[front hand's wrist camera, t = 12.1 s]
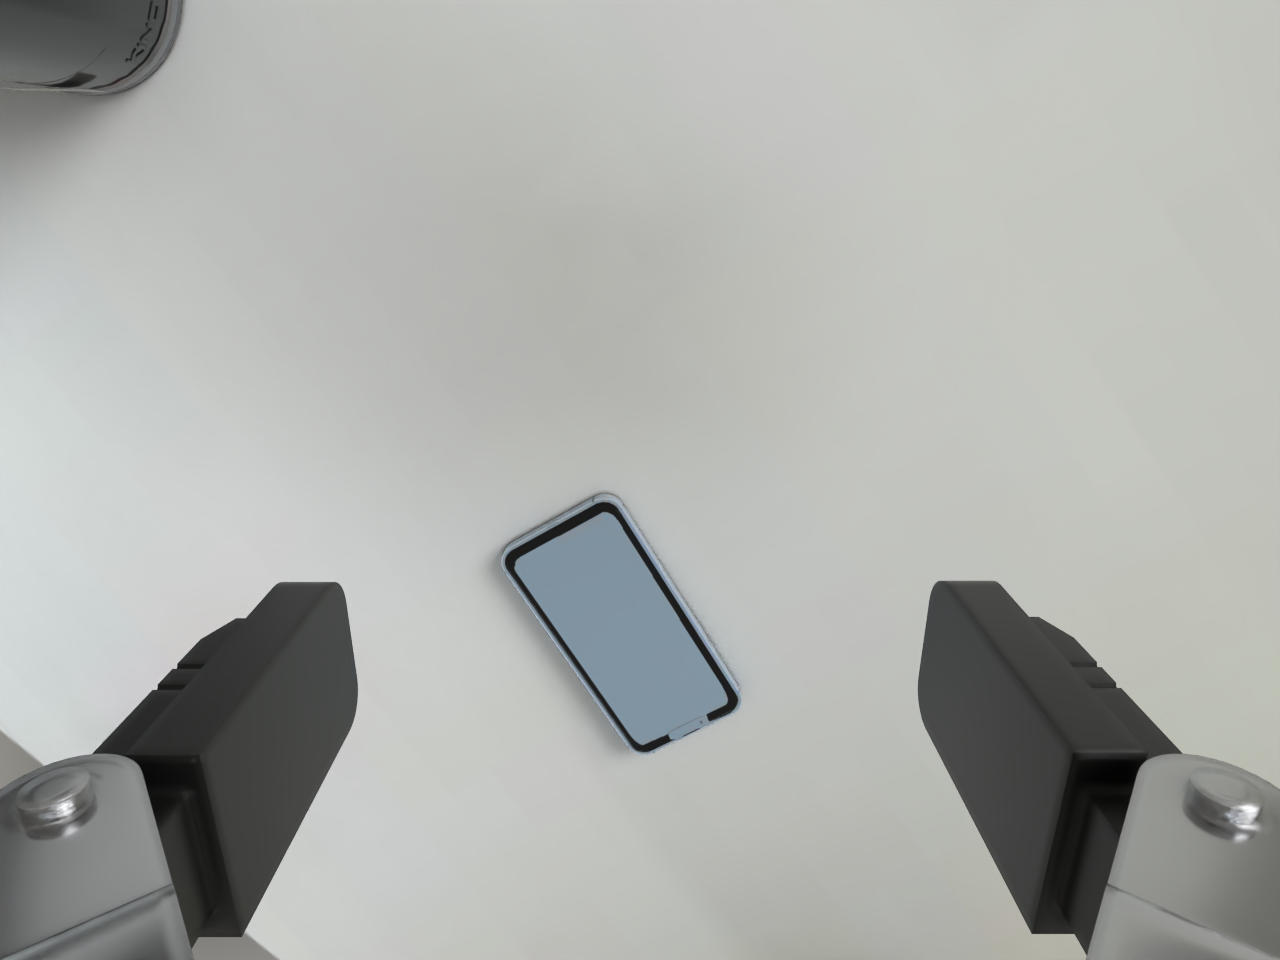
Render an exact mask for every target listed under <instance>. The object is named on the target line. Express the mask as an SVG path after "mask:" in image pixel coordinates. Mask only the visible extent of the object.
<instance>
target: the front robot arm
mask: <svg viewBox="0 0 1280 960" xmlns="http://www.w3.org/2000/svg"><path fill="white" fill-rule="evenodd" d="M181 11H182V0H0V80H5V81H11V82H16V83H22V84H29V85H36V86H43V87H45V88H49V89H44V88H5V89H13V90H24V91H61V92H66V93H73V94H81V95H106V94H112V93H116V92H120V91H123V90H126V89H128V88H131V87H133V86H135V85H137V84H138V83H140V82H141V81H143V80H144V79H146V78H147V77H148V76H149V75H151V74H152V73H153V72H154V71H155V70H156V69H157V68H158V66H159V65H160V64H161V63H162V62H163V60H164V59H165V57H166V56H167V54H168V52H169V50H170V49H171V47H172V45H173V42H174V40H175V37H176V34H177V31H178V27H179V23H180V18H181ZM177 665H178V666H177V669H172V670H171V671H170V672H169V673H168V674H167V676H166V677H165V678H164V679H163V680H162V681H161V682H160V683H159V684H158V689H157V690H152V691H151V692H150V693H149V695H148V696H147V697H146V698H145V699H144V700H143V701H142V702H141V703H140V704H139V705H138V706H137V707H136V708H135V709H134V710H133V711H132V712H131V714H130V715H129V716H128V717H127V718H126V719H125V720H124V721H123V722H122V723H121V724H120V725H119V726H118V727H117V728H116V729H115V730H114V731H113V733H112V734H111V735H110V736H109V737H108V738H107V739H106V740H105V741H104V742H103V743H102V744H101V745H100V746H99V747H98V748H97V749H96V750H95V752H94V753H93V754H90V755H82V756H77V757H73V758H68V759H64V760H61V761H58V762H54V763H51V764H49V765H46V766H43V767H41V768H38V769H36V770H34V771H32V772H30V773H27V774H25V775H23V776H22V777H20V778H18V779H16V780H14V781H12V782H11V783H9V784H8V785H6V786H5V787H3V788H2V789H0V960H194V957H193V954H192V950H191V949H192V947H193V946H194V944H195V942H196V940H197V939H198V937H242V935H243V933H244V932H245V930H246V928H247V926H248V924H249V922H250V920H251V918H252V916H253V914H254V912H255V911H256V909H257V907H258V905H259V903H260V901H261V899H262V897H263V895H264V893H265V891H266V890H267V888H268V886H269V884H270V882H271V880H272V878H273V876H274V874H275V872H276V870H277V869H278V867H279V865H280V863H281V861H282V859H283V857H284V855H285V853H286V851H287V849H288V847H289V846H290V844H291V842H292V840H293V838H294V836H295V834H296V832H297V830H298V828H299V826H300V825H301V823H302V821H303V819H304V817H305V815H306V813H307V811H308V809H309V807H310V805H311V804H312V802H313V800H314V798H315V796H316V794H317V792H318V790H319V788H320V786H321V784H322V783H323V781H324V779H325V777H326V775H327V773H328V771H329V769H330V767H331V765H332V763H333V761H334V760H335V758H336V756H337V754H338V752H339V750H340V748H341V746H342V744H343V742H344V740H345V739H346V737H347V735H348V733H349V731H350V729H351V727H352V724H353V721H354V717H355V713H356V707H357V698H358V683H357V675H356V668H355V661H354V654H353V647H352V640H351V633H350V626H349V619H348V612H347V605H346V599H345V595H344V591H343V589H342V587H341V586H340V585H339V584H338V583H336V582H280V583H278V584H276V585H275V586H274V587H273V588H272V590H271V591H270V592H269V593H268V594H267V595H266V596H265V597H264V599H263V600H262V601H261V602H260V603H259V604H258V605H257V606H256V607H255V609H254V610H253V611H252V612H251V613H250V614H249V615H248V616H247V618H236V619H235V620H233V621H231V622H229V623H228V624H226V625H224V626H223V627H221V628H219V629H218V630H216V631H214V632H212V633H211V634H209V635H207V636H206V637H204V638H202V639H201V640H200V641H199V642H198V643H197V644H196V645H195V646H194V647H193V648H192V649H191V650H190V651H189V652H188V653H187V654H186V655H185V657H184V658H183V659H182V660H181V661H180V662H179V663H178V664H177ZM918 699H919V707H920V712H921V717H922V720H923V723H924V726H925V728H926V730H927V732H928V734H929V736H930V738H931V740H932V742H933V744H934V745H935V747H936V749H937V751H938V753H939V755H940V757H941V759H942V761H943V763H944V765H945V767H946V769H947V771H948V773H949V774H950V776H951V778H952V780H953V782H954V784H955V786H956V788H957V790H958V792H959V794H960V796H961V798H962V800H963V802H964V804H965V805H966V807H967V809H968V811H969V813H970V815H971V817H972V819H973V821H974V823H975V825H976V827H977V829H978V831H979V833H980V834H981V836H982V838H983V840H984V842H985V844H986V846H987V848H988V850H989V852H990V854H991V856H992V858H993V860H994V862H995V863H996V865H997V867H998V869H999V871H1000V873H1001V875H1002V877H1003V879H1004V881H1005V883H1006V885H1007V887H1008V889H1009V891H1010V893H1011V894H1012V896H1013V898H1014V900H1015V902H1016V904H1017V906H1018V908H1019V910H1020V912H1021V914H1022V916H1023V918H1024V920H1025V922H1026V923H1027V925H1028V927H1029V929H1030V931H1031V933H1032V934H1075V936H1076V937H1077V939H1078V941H1079V943H1080V944H1081V946H1082V948H1083V949H1084V951H1085V953H1086V955H1087V957H1086V960H1280V789H1278V788H1277V787H1275V786H1274V785H1272V784H1271V783H1269V782H1268V781H1266V780H1264V779H1262V778H1260V777H1259V776H1257V775H1255V774H1253V773H1250V772H1248V771H1246V770H1244V769H1242V768H1239V767H1237V766H1234V765H1231V764H1229V763H1226V762H1222V761H1219V760H1216V759H1212V758H1207V757H1203V756H1198V755H1190V754H1182V753H1181V751H1180V750H1179V749H1178V748H1177V747H1176V746H1175V745H1174V744H1173V743H1172V742H1171V741H1170V740H1169V739H1168V738H1167V737H1166V735H1165V734H1164V733H1163V732H1162V731H1161V730H1160V729H1159V728H1158V727H1157V726H1156V725H1155V724H1154V723H1153V722H1152V721H1151V719H1150V718H1149V717H1148V716H1147V715H1146V714H1145V713H1144V712H1143V711H1142V710H1141V709H1140V708H1139V707H1138V706H1137V705H1136V704H1135V702H1134V701H1133V700H1132V699H1131V698H1130V697H1129V696H1128V695H1127V694H1126V693H1125V692H1124V691H1123V690H1122V689H1121V688H1117V687H1116V682H1115V681H1114V680H1113V679H1112V678H1111V677H1110V676H1109V675H1108V674H1107V673H1106V672H1105V670H1104V669H1103V668H1102V667H1097V662H1096V661H1095V660H1094V659H1093V658H1092V657H1091V656H1090V655H1089V653H1088V652H1087V651H1086V650H1085V649H1084V648H1083V647H1082V646H1081V645H1080V644H1079V643H1078V642H1077V641H1076V640H1075V639H1074V638H1073V637H1072V636H1070V635H1068V634H1066V633H1065V632H1063V631H1061V630H1060V629H1058V628H1056V627H1055V626H1053V625H1051V624H1050V623H1048V622H1046V621H1045V620H1043V619H1041V618H1039V617H1028V615H1027V614H1026V613H1025V612H1024V611H1023V610H1022V609H1021V607H1020V606H1019V605H1018V604H1017V603H1016V602H1015V601H1014V600H1013V598H1012V597H1011V596H1010V595H1009V594H1008V593H1007V592H1006V590H1005V589H1004V588H1003V587H1002V586H1001V585H1000V584H999V583H998V582H996V581H938V582H937V583H936V584H935V585H934V587H933V589H932V592H931V595H930V600H929V607H928V614H927V622H926V629H925V636H924V643H923V650H922V657H921V664H920V671H919V679H918Z"/></svg>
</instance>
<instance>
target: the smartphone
mask: <svg viewBox="0 0 1280 960" xmlns="http://www.w3.org/2000/svg"><path fill="white" fill-rule="evenodd" d="M501 566H502V569H503V571H504V572H505V574H506V575H507V577H508V578H509V580H510V581H511V582H512V584H513V585H514V587H515V588H516V589H517V591H518V592H519V594H520V595H521V597H522V598H523V599H524V601H525V602H526V604H527V605H528V606H529V608H530V609H531V611H532V612H533V614H534V615H535V616H536V618H537V619H538V621H539V622H540V623H541V625H542V626H543V628H544V629H545V631H546V632H547V633H548V635H549V636H550V638H551V639H552V640H553V642H554V643H555V645H556V646H557V648H558V649H559V650H560V652H561V653H562V655H563V656H564V658H565V659H566V660H567V662H568V663H569V665H570V666H571V667H572V669H573V670H574V672H575V673H576V675H577V676H578V677H579V679H580V680H581V682H582V683H583V684H584V686H585V687H586V689H587V690H588V692H589V693H590V694H591V696H592V697H593V699H594V700H595V701H596V703H597V704H598V706H599V707H600V709H601V710H602V711H603V713H604V714H605V716H606V717H607V718H608V720H609V721H610V723H611V724H612V726H613V727H614V728H615V730H616V731H617V733H618V734H619V736H620V737H621V738H622V740H623V741H624V743H625V744H626V745H627V747H628V748H629V749H630V750H631V751H632V752H634V753H636V754H639V755H649V754H652V753H655V752H657V751H659V750H661V749H663V748H665V747H667V746H669V745H671V744H673V743H675V742H677V741H679V740H681V739H683V738H685V737H687V736H690V735H692V734H694V733H696V732H698V731H700V730H702V729H704V728H706V727H708V726H710V725H712V724H714V723H716V722H718V721H720V720H723V719H725V718H727V717H729V716H731V715H733V714H734V713H736V712H737V711H738V710H739V708H740V707H741V704H742V696H741V692H740V688H739V686H738V685H737V683H736V682H735V680H734V679H733V677H732V675H731V674H730V672H729V671H728V669H727V668H726V666H725V664H724V663H723V661H722V660H721V658H720V656H719V655H718V653H717V651H716V650H715V648H714V647H713V645H712V644H711V642H710V640H709V639H708V638H707V636H706V634H705V633H704V631H703V629H702V628H701V626H700V625H699V623H698V622H697V620H696V619H695V617H694V615H693V614H692V612H691V611H690V609H689V608H688V606H687V604H686V603H685V601H684V600H683V598H682V596H681V595H680V593H679V592H678V590H677V589H676V587H675V585H674V584H673V582H672V581H671V579H670V578H669V576H668V574H667V573H666V571H665V570H664V568H663V566H662V565H661V563H660V562H659V560H658V559H657V557H656V555H655V554H654V552H653V551H652V549H651V548H650V546H649V544H648V543H647V541H646V540H645V538H644V536H643V535H642V533H641V532H640V530H639V529H638V527H637V525H636V524H635V522H634V521H633V519H632V517H631V516H630V514H629V513H628V511H627V510H626V508H625V506H624V505H623V503H622V502H621V501H620V500H619V499H618V498H617V497H615V496H613V495H610V494H600V495H597V496H594V497H593V498H591V499H589V500H587V501H585V502H584V503H582V504H580V505H578V506H576V507H575V508H573V509H571V510H569V511H567V512H566V513H564V514H562V515H560V516H558V517H556V518H555V519H553V520H551V521H549V522H547V523H546V524H544V525H542V526H540V527H538V528H537V529H535V530H533V531H531V532H529V533H528V534H526V535H524V536H522V537H520V538H519V539H517V540H515V541H513V542H511V543H510V544H509V545H508V546H507V547H506V548H505V550H504V552H503V555H502V558H501Z"/></svg>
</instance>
